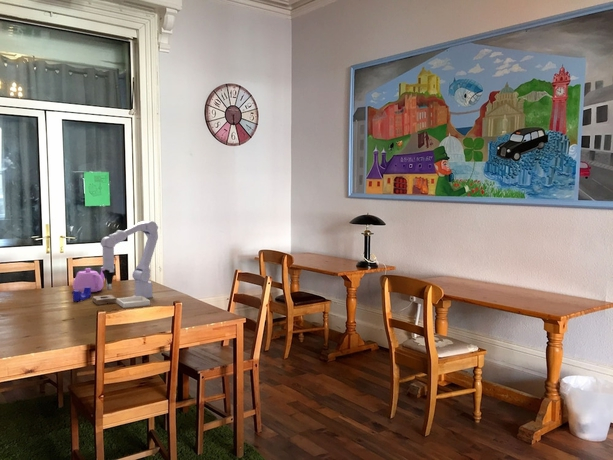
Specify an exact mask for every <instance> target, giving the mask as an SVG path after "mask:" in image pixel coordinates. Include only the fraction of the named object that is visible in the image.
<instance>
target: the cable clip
mask: <svg viewBox="0 0 613 460" xmlns="http://www.w3.org/2000/svg"><path fill="white" fill-rule="evenodd" d="M90 297H91V298H92V292H91V287H84V292H82V293H81V292H80V291H75V290H73V291H72V302H73V301H79V302H82V301H85V300H88V299H90ZM87 298H88V299H87ZM84 299H85V300H84ZM81 300H82V301H81Z"/></svg>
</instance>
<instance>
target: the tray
mask: <svg viewBox="0 0 613 460" xmlns="http://www.w3.org/2000/svg"><path fill="white" fill-rule="evenodd" d="M116 304H117V305H119V306H120V307H121V308H123V309H128V308H136V307H137V308H138V307H145V306H146V307H147V306H151V300H150V299H148V298H145V297H143V296H136V297H133V296H125V297H118V298H117V297H116Z"/></svg>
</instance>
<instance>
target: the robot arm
mask: <svg viewBox="0 0 613 460" xmlns="http://www.w3.org/2000/svg"><path fill="white" fill-rule="evenodd" d="M158 229H159V226H158V224H157V223H156V222H155V221H153V220H152V221H151V220H145V219H144V220H141V221H138V222H137V223H136V224H134V225H132V226H130V227H129V228H127V229H125V230H122V229H121V230H120V229H117V230H116V231H115V232H114V233H111V234H108V236H104V237H102V239H101V241H100V246H101V247H102V266H100V270H102V269H105V270H103V271H102V272H103V274H104V277H105V279H104V281H105V282H106V279H107V284H111V285H112V284H113V279H114V277H115V274H116V271H115V246H116V245H117V244H120V243H121V242H123V241H125V240H126V239H127V237H128V236H130V235H133V234H134V233H135V234H136V233H137V232H140V231H141V232H142V233H143V234H145V236H146V238H147V240H146V243H145V245H144V248H143V253H142V255H141V259H140V262H139V264H137V266H136V267H135V270H133V272H132V279H133V280H134V294H133V295H132V297H136V296H143V297H145V298H147V299H148V298H149V299H150V298H153V297H154V296H153V293H154V292H153V289H154V288H153V283H152V281H150V279H151V268H150V265H151V262H152V258H153V255H154V252H155V248H156V245H157V242H158V239H159V233H158Z"/></svg>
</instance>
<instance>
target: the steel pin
mask: <svg viewBox="0 0 613 460" xmlns="http://www.w3.org/2000/svg"><path fill="white" fill-rule="evenodd" d="M105 284H106V286H105V287H106V288H105V289H106V291H111V290H112V284H107V279H106V281H105Z"/></svg>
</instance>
